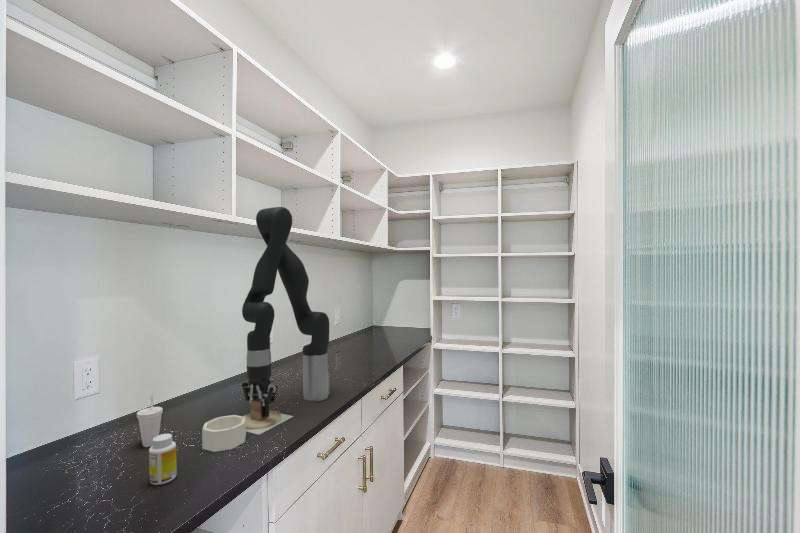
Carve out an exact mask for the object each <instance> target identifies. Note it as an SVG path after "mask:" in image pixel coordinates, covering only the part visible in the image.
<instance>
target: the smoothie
mask: <svg viewBox="0 0 800 533" xmlns="http://www.w3.org/2000/svg"><path fill="white" fill-rule="evenodd" d="M163 412H164V410H163V407H161V406H154V394H150V407H145V408H143V409H141V410H138V411H137V412H136V418H137V419H138V426H139V431H140V438H141V442H142V447H144V448H149V447H151V446H153V438H154V437H156V436H158V435H160V430H161V420H162V413H163Z"/></svg>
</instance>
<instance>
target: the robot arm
mask: <svg viewBox="0 0 800 533" xmlns="http://www.w3.org/2000/svg"><path fill="white" fill-rule="evenodd" d="M255 222H256V227H257V229H258V231H259V234H260V235H261V237H262V240H263V241H264V243H265V245H266V248H265V250H264V252H263V253H262V255H261V256H260V258H259V260H258V261H257V263H256V265H255V269H254V272H253V277H252V283H251V287H250V289H249V291H248V293H247V295H246V298H245V299H244V302H243V304H242V308H241V309H242V310H241V314H242V317H243V319H244V321H245V322H247V323H251V324H254V329H253V330H251V331H249V332H248V333H247V336H246V341H247V342H246V349H247V351H246V352H247V353H246V378H247V379H248V381H244V382H242V383H241V387H242V390H243V391H242V392H243V395H244V399H245V401H246V402H247V401H248V402H249V403H250V401H251V400H253V399H256V398H258V397H259V399H261V403H262V417H266V416H268V414H269V410H270V405H271V404H273V403H275V400H276V397H277V392H278V385H272V383H271V376H272V353H271V333H272V330H273V324H274V320H275V309H274V307H273V305H272V304H271V303H270V302H267V301H265V298H266V297H268V296H271V295H272V294H273V293H274V289H275V285H276V278H277V274H279V278H280V280H281V282H282V285H283V287H284V289H285V291H286V294H287V296H288V300H289V302H290V304H291V305H290V306H291V309H292V311H293V315H294V319H295V322H296V325H297V328H298V330H299V331H300V333H301V334H303V335H306V336H311V340H310V343H309V344H306V345H304V346H303V347H302V377H303V378H302V379H303V380H302V382H303V383H302V384H303V386H302V387H303V389H302V390H303V392H302V393H303V400H305V401H310V402H321V401H324V400H327V399H328V397H329V396H330V371H329V370H328V347H329V344H330V319H329V316H328V314H327V313H326V312H323V311H312V309H311V307H310V304H309V303H308V296H307V294H308V290H309V284H310V283H309V280H310V279H309V276H308V272H307V270H306V267H305V265H304V263H303V261H302V260H301V259H300V258H299V256H298V255H297V254H296V253H295V252H294V251H293V250H292V249H291V248H290V247H289V245H288V244H287V241H288V239H289V235H290V233H291V230H292V226H293V215H292V213H291V212H290V210H289V209H288V208H286V207H284V206H276V207H268V208H262V209H259V211H258V212H257V213H256V216H255ZM265 398H266V401H265Z"/></svg>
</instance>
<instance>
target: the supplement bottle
mask: <svg viewBox="0 0 800 533" xmlns="http://www.w3.org/2000/svg"><path fill="white" fill-rule="evenodd" d="M177 461H178V460H177V444H176V442H175V441H174V440H173V434H172V433H161V434H159V435H158V436H156V437H154V438H153V446H150V448H149V449H148V465H149V466H148V467H149V468H148V471H149V472H148V473H149V483H150V484H151V485H153V486H159V485H161V486H162V485H164V484H167V483H169V482H172V481H173V480H174V479H175V478H176V477H177V475H178V469H177V466H178V464H177Z"/></svg>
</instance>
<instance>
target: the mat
mask: <svg viewBox="0 0 800 533" xmlns="http://www.w3.org/2000/svg"><path fill="white" fill-rule="evenodd" d="M279 413H280V414H281V420H280V421H279V422H278V423H277V424H275V425H273V426H270V427H267V428H263V429H255V430H248V429H246V433H252V434H255V435H258V436H259V435H262V434H264V433H266V432H267V431H269V430H271V429H273V428H274V427H275V428H276V426H278V425H280V424H282V423H284V422H286V421H288V420H289V419H291V418H294V415H290V414H284V413H281V412H279Z"/></svg>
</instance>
